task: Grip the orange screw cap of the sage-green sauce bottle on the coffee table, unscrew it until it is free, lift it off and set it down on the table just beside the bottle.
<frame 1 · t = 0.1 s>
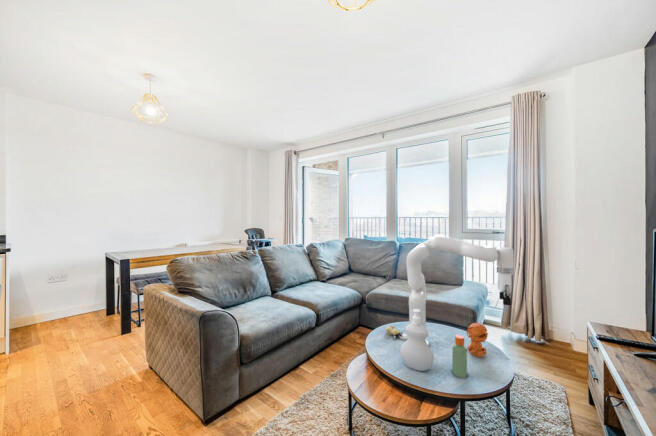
hand: (504, 302, 144), 31 cm above the table, tool pointing down, fingers open, 9 cm apart
figurine: (396, 337, 173), on the table, touching arm
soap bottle: (416, 367, 138), on the table
orange sculpture: (477, 354, 150), on the table
bottle: (459, 373, 132), on the table
cap: (459, 337, 132), point 18 cm above the table, screwed on, not yet turned
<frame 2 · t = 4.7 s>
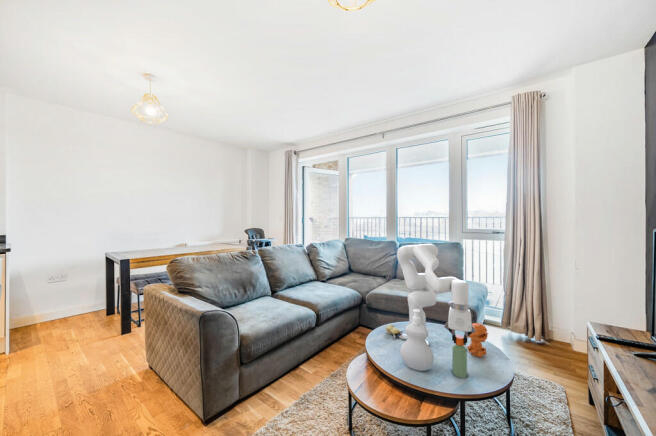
hand: (459, 342, 132), 15 cm above the table, tool pointing down, fingers closed on cap, 4 cm apart
cap: (459, 337, 132), point 18 cm above the table, screwed on, not yet turned, touching gripper
everything else where it was.
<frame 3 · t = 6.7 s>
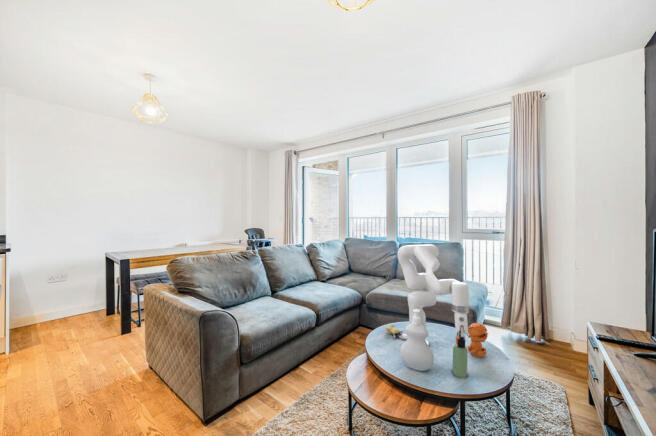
hand: (460, 345, 131), 15 cm above the table, tool pointing down, fingers closed on cap, 4 cm apart
cap: (460, 337, 131), point 18 cm above the table, turned 93° so far, risen 0.1 cm, still on its thread, touching gripper
everything else where it was.
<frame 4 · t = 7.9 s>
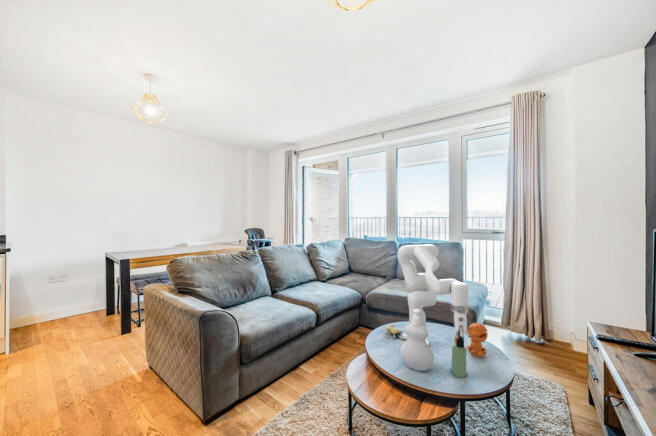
hand: (459, 344, 132), 14 cm above the table, tool pointing down, fingers closed on cap, 3 cm apart
cap: (459, 337, 132), point 18 cm above the table, turned 94° so far, risen 0.1 cm, still on its thread, touching gripper
everything else where it was.
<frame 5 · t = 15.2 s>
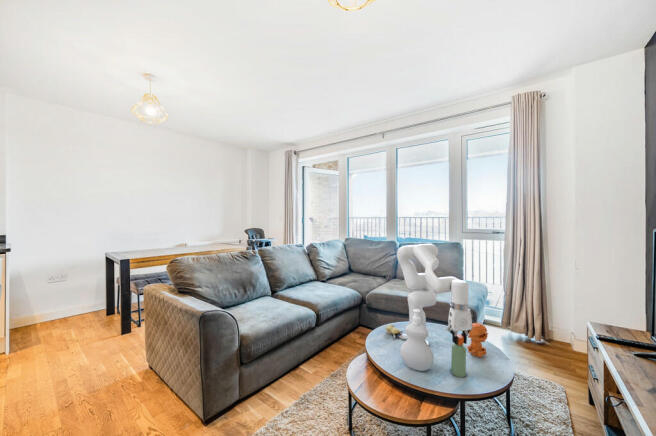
hand: (459, 342, 132), 15 cm above the table, tool pointing down, fingers closed on cap, 4 cm apart
cap: (459, 336, 132), point 18 cm above the table, turned 126° so far, risen 0.1 cm, still on its thread, touching gripper
everything else where it was.
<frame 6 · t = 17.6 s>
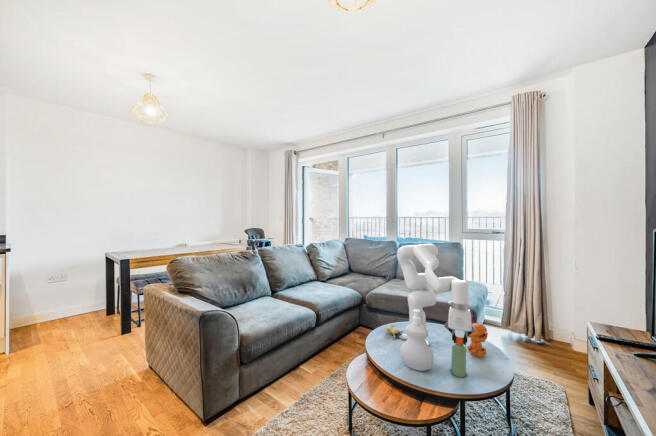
hand: (459, 342, 132), 16 cm above the table, tool pointing down, fingers closed on cap, 4 cm apart
cap: (459, 336, 132), point 18 cm above the table, turned 188° so far, risen 0.2 cm, still on its thread, touching gripper
everything else where it was.
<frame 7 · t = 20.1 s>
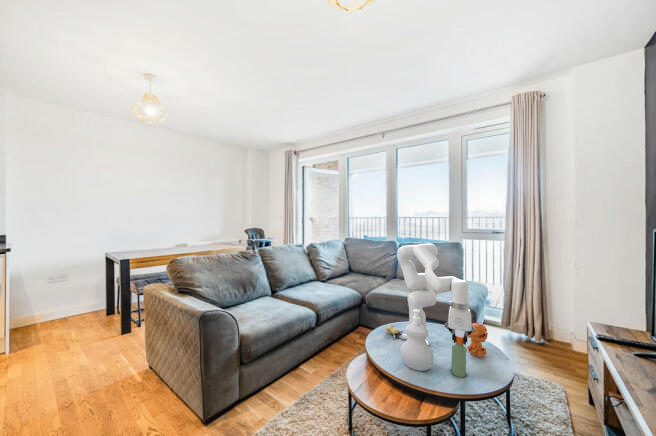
hand: (459, 342, 132), 16 cm above the table, tool pointing down, fingers closed on cap, 4 cm apart
cap: (459, 336, 132), point 18 cm above the table, turned 283° so far, risen 0.3 cm, still on its thread, touching gripper
everything else where it was.
when the fingers open (2 cm above the table, at t = 29.9 s): cap drops 1 cm, point 3 cm above the table.
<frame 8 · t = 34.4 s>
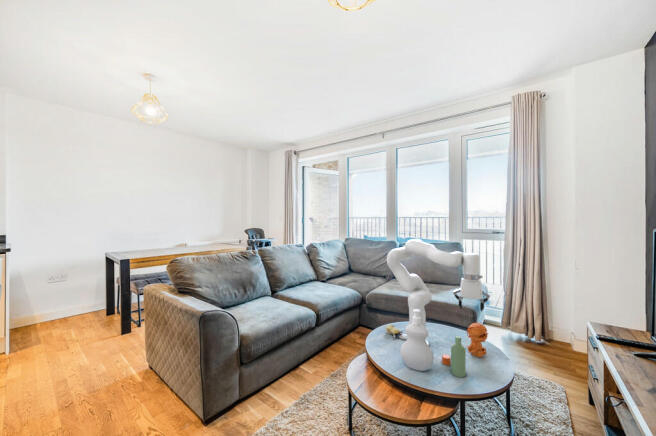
hand: (471, 309, 142), 28 cm above the table, tool pointing down, fingers open, 9 cm apart
cap: (446, 357, 141), point 3 cm above the table, off its thread
everything else where it was.
at the end: cap came off its thread; cap point 3.2 cm above the table; the gripper is holding nothing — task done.
